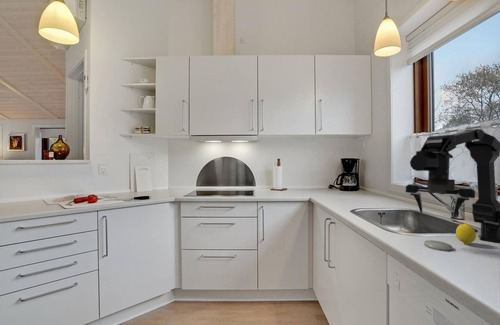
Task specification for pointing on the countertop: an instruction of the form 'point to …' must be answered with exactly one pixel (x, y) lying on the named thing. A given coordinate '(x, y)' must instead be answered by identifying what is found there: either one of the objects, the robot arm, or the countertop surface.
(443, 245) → the coaster
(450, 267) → the countertop surface
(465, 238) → the lemon
